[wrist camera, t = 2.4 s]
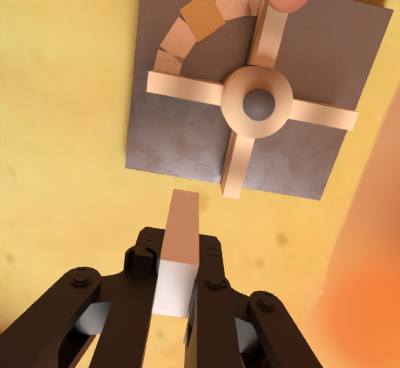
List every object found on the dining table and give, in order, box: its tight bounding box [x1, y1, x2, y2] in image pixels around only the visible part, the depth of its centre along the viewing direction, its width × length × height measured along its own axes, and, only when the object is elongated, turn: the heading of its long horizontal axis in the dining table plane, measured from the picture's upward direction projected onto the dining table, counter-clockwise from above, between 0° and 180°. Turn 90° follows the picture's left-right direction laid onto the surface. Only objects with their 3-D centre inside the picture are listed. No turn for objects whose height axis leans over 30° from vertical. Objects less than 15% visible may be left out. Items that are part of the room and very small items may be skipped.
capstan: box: [146, 0, 359, 199], centre depth 24 cm, size 18×19×7 cm
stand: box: [125, 0, 394, 200], centre depth 28 cm, size 22×19×2 cm
